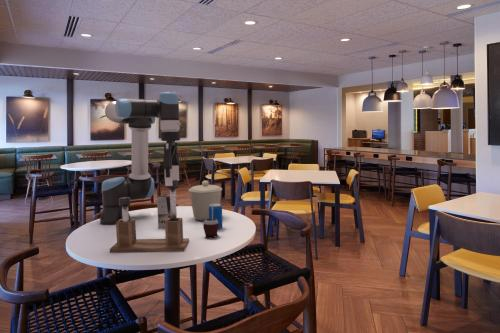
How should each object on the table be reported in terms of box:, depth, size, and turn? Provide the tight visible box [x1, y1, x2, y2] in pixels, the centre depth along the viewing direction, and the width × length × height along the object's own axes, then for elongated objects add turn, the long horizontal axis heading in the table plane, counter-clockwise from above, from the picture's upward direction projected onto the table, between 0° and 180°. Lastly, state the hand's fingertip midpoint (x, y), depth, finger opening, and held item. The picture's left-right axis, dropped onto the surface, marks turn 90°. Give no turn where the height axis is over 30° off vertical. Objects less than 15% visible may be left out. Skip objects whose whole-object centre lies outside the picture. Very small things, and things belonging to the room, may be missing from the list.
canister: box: [188, 180, 223, 222], centre depth 191 cm, size 18×18×21 cm
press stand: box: [109, 217, 190, 254], centre depth 146 cm, size 12×30×12 cm, turn 90°
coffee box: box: [156, 193, 171, 230], centre depth 177 cm, size 9×6×16 cm
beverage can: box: [209, 203, 223, 231], centre depth 171 cm, size 6×6×12 cm
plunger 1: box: [119, 197, 131, 222], centre depth 145 cm, size 4×4×18 cm
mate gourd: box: [202, 202, 219, 239], centre depth 159 cm, size 8×8×15 cm
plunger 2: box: [166, 179, 179, 221], centre depth 145 cm, size 4×4×18 cm
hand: (172, 183), depth 144 cm, fingers open, 13 cm apart
